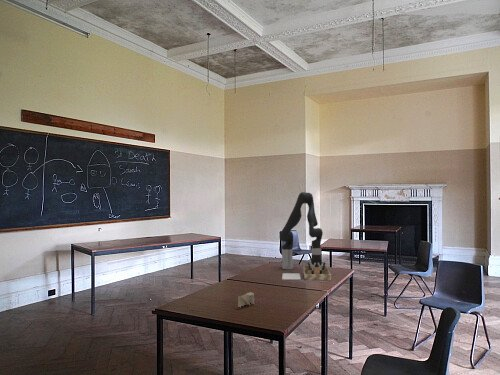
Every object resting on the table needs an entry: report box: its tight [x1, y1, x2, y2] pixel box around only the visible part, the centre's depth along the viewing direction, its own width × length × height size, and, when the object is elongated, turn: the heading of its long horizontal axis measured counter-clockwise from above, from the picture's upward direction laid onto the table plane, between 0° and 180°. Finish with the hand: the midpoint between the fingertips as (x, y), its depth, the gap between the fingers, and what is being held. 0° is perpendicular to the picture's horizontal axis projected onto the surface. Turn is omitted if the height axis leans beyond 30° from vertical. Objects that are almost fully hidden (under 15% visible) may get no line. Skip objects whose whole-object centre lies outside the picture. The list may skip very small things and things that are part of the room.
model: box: [237, 291, 255, 308], centre depth 215 cm, size 3×11×8 cm, turn 141°
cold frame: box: [302, 265, 332, 281], centre depth 288 cm, size 20×20×7 cm
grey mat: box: [281, 272, 301, 281], centre depth 290 cm, size 14×20×1 cm
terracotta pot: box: [313, 267, 320, 274], centre depth 288 cm, size 6×6×8 cm
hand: (316, 275), depth 288 cm, fingers closed on terracotta pot, 5 cm apart
